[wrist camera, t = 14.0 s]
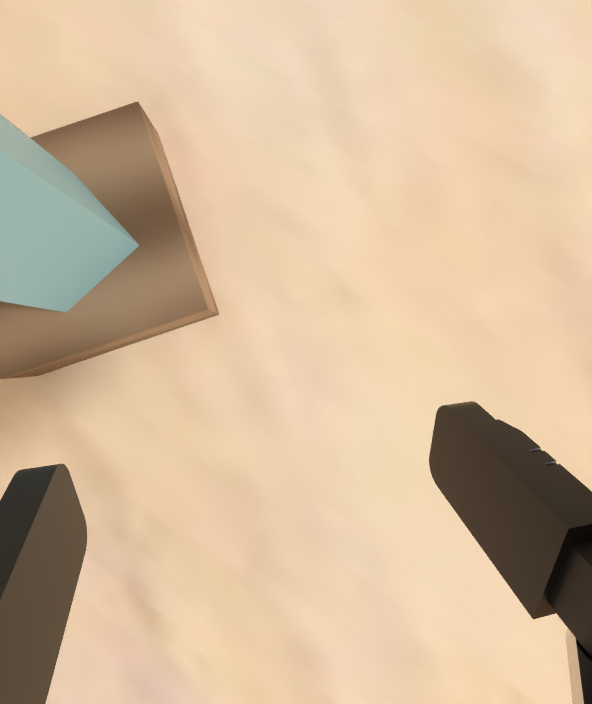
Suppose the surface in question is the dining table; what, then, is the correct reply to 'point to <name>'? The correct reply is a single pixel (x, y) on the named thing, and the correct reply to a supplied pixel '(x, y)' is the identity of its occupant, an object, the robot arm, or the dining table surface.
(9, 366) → the walnut base plate
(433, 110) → the dining table surface
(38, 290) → the teal pillar block
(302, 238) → the dining table surface
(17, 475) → the robot arm
